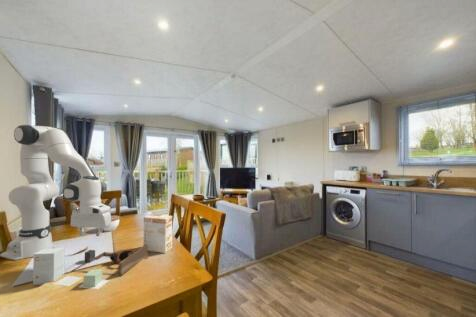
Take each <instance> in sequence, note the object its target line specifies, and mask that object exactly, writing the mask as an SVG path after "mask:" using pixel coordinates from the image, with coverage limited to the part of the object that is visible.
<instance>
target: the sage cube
mask: <svg viewBox="0 0 476 317" xmlns="http://www.w3.org/2000/svg"><path fill="white" fill-rule="evenodd" d="M102 273H103V269H99V268H98V269H97V268H96V269H91V270H89V272H88V273H84V275H83V283H84V287H95V286H96V285H97V284H99V283H100V282H101V281H102V279H103V275H102Z"/></svg>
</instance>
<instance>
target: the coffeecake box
mask: <svg viewBox="0 0 476 317" xmlns="http://www.w3.org/2000/svg"><path fill="white" fill-rule="evenodd" d="M144 245H148V252H153V253H155V252H156V253H162V254H166V253H167V252H168V251H170V249H171V248H172V249H173V215H167V214H153V213H152V214H151V213H150V214H148V215H145V216H144V217H143V245H142V247H143V246H144ZM172 249H171V250H172Z"/></svg>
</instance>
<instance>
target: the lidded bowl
mask: <svg viewBox="0 0 476 317" xmlns="http://www.w3.org/2000/svg"><path fill="white" fill-rule="evenodd" d="M120 219H121V218H120V215H111V224H110V226H108V227H106V228H104V229H103V231H104V232H112V231H115V230H116V229H117V228H118V227H119V224H120Z"/></svg>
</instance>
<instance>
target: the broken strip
mask: <svg viewBox="0 0 476 317" xmlns="http://www.w3.org/2000/svg"><path fill="white" fill-rule="evenodd" d="M81 279H84V276H83V277H81V276H71V275H66V276H64V277H62V278H61V279H59V280H57V281H54V283H52V285H56V286H64V287H70V286H72V285H73V284H75V283H77V282H78V281H80V280H81ZM108 282H110V279H103V278H102V281H101V282H100V283H99V284H97V285H96V286H95V287H84V282H83V283H81V284H80V285H79V286H78V288H83V289H93V290H100V289H101V287H103V286H104V285H106V284H107V283H108Z"/></svg>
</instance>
